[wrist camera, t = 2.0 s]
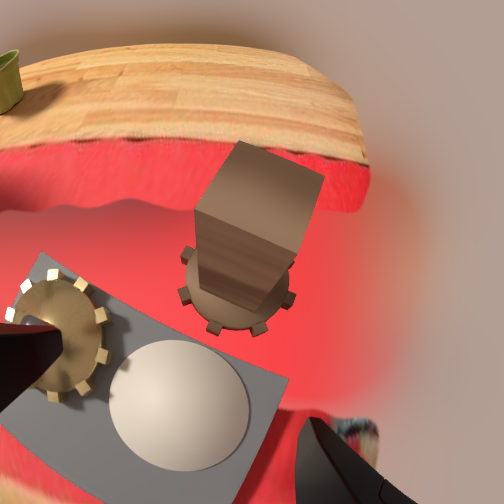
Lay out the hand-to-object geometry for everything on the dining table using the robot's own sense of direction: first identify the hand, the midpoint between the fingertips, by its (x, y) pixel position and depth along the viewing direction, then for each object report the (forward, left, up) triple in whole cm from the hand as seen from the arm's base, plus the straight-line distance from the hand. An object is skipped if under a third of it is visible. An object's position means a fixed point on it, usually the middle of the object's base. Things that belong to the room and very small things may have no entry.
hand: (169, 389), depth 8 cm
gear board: (-2, +7, -13) cm, 15 cm away
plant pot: (+40, +32, -13) cm, 53 cm away
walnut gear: (+8, -4, -13) cm, 15 cm away
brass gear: (+3, +10, -11) cm, 16 cm away
